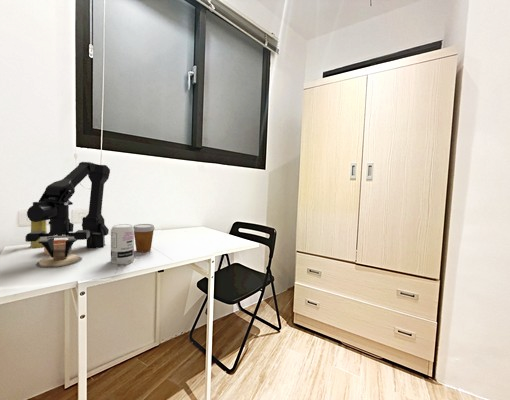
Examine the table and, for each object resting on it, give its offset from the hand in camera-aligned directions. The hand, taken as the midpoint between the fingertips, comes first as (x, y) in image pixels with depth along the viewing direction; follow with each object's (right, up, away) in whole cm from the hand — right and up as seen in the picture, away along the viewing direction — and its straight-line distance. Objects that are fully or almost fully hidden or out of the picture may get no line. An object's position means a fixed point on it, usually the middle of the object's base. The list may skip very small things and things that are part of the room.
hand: (60, 257), depth 94 cm
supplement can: (+22, -3, +5) cm, 22 cm away
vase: (-24, 0, +18) cm, 31 cm away
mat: (0, -2, 0) cm, 2 cm away
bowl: (-10, -1, +11) cm, 15 cm away
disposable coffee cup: (+23, -2, +21) cm, 31 cm away
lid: (0, -2, 0) cm, 2 cm away
